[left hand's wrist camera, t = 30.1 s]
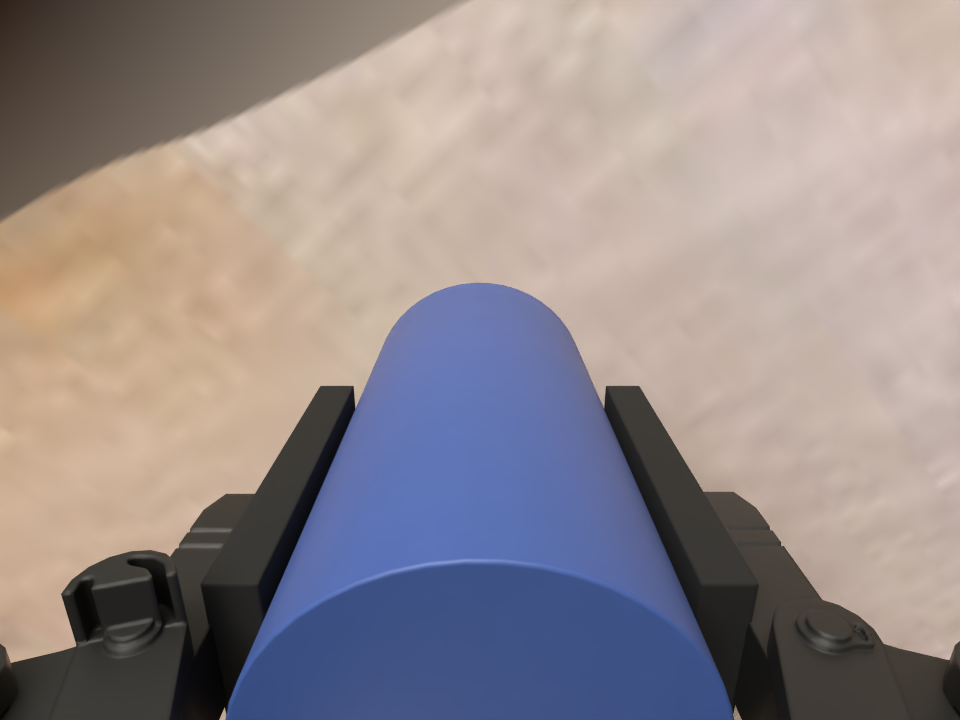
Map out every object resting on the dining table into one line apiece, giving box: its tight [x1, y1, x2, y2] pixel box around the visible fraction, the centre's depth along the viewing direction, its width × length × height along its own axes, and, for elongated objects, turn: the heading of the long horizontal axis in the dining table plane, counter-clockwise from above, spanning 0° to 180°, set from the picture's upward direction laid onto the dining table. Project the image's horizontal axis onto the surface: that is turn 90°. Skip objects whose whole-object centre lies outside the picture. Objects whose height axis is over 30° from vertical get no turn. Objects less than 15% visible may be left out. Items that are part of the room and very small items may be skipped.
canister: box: [226, 283, 734, 720], centre depth 12 cm, size 6×6×11 cm
